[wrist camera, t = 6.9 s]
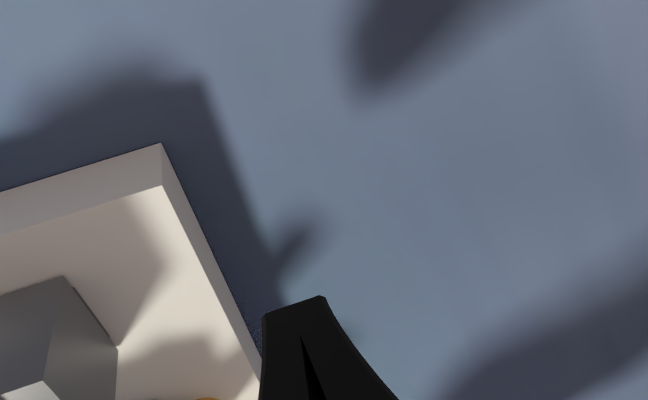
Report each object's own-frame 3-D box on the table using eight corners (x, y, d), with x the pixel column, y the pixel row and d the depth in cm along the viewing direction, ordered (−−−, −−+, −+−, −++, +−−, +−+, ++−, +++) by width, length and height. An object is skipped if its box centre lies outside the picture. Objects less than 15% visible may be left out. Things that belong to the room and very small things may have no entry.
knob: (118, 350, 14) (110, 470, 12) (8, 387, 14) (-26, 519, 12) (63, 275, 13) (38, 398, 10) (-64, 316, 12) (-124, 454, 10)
